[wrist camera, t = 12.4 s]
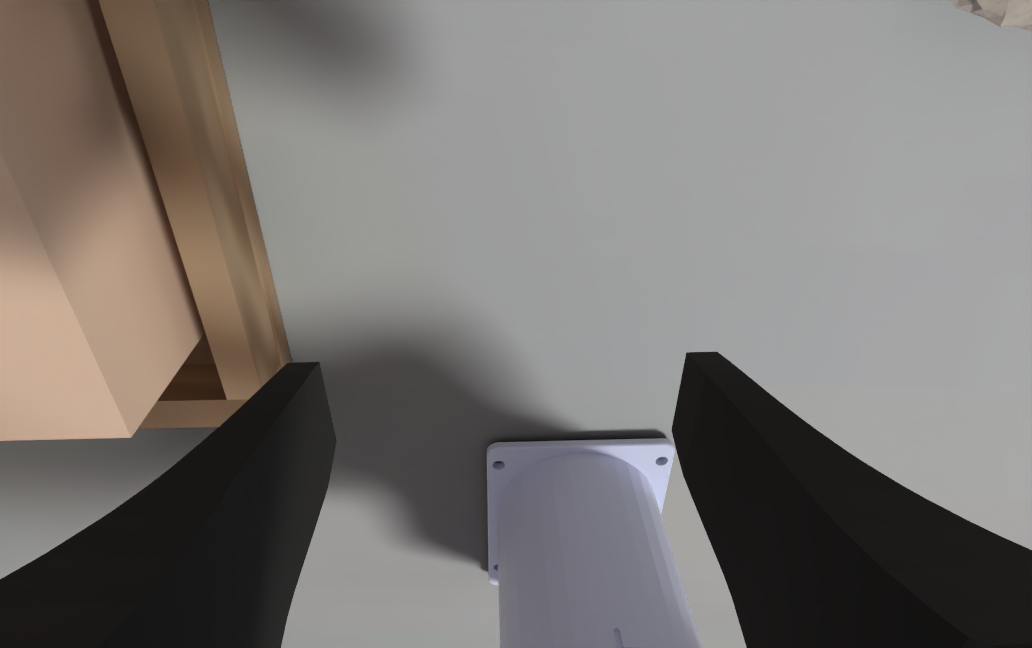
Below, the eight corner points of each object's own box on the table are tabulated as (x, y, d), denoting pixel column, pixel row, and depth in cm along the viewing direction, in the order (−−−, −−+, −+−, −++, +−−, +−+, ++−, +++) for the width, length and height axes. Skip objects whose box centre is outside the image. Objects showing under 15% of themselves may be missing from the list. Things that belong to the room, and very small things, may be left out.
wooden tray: (295, 376, 23) (274, 425, 21) (69, 380, 23) (21, 431, 20) (144, -271, 13) (70, -316, 11) (-261, -284, 13) (-428, -334, 10)
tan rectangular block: (209, 326, 21) (131, 437, 16) (90, 327, 20) (-24, 441, 16) (57, -155, 14) (-162, -202, 9) (-128, -158, 13) (-449, -209, 9)
